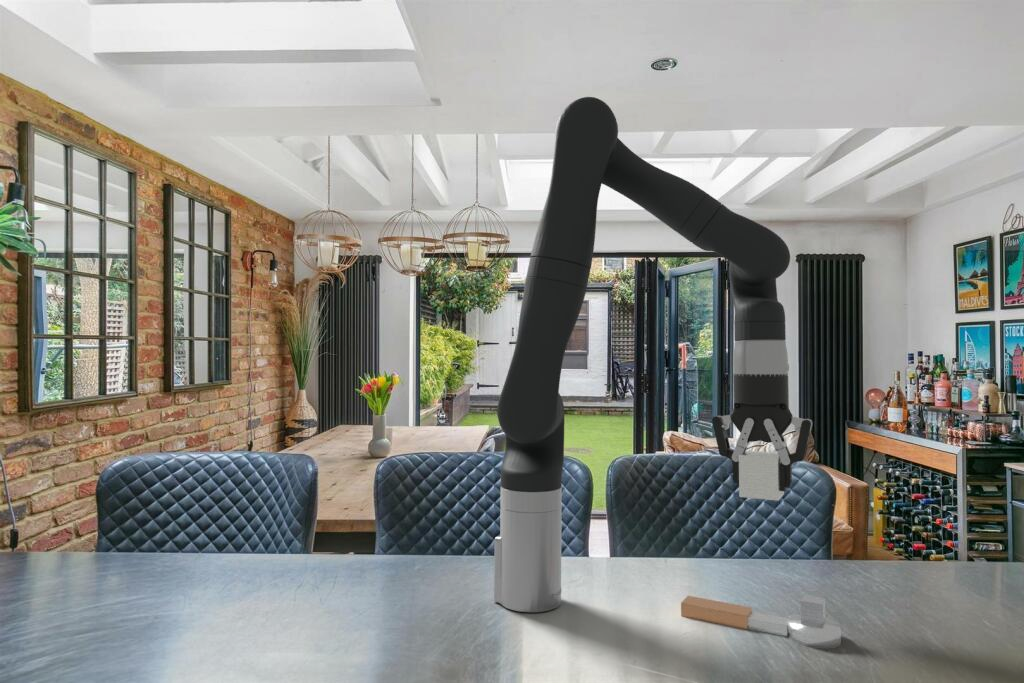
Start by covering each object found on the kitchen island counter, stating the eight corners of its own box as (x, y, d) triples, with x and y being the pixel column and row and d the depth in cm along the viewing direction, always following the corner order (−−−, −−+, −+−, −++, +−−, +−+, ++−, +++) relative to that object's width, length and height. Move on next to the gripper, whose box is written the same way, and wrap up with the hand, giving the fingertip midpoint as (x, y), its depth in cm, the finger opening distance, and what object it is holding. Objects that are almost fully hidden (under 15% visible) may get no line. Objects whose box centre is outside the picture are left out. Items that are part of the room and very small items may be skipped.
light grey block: (739, 496, 95) (738, 454, 95) (746, 490, 100) (745, 450, 100) (778, 500, 92) (777, 457, 93) (784, 494, 97) (783, 453, 97)
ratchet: (677, 619, 92) (677, 583, 93) (690, 605, 98) (690, 571, 98) (838, 653, 82) (838, 612, 82) (843, 635, 87) (842, 596, 88)
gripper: (704, 372, 97) (705, 488, 96) (811, 372, 90) (813, 498, 89) (716, 371, 103) (717, 480, 103) (816, 371, 96) (818, 489, 96)
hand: (762, 488), depth 96 cm, fingers closed on light grey block, 5 cm apart
